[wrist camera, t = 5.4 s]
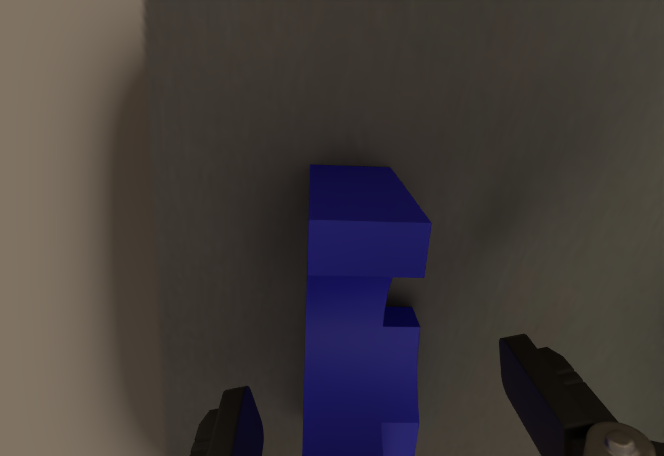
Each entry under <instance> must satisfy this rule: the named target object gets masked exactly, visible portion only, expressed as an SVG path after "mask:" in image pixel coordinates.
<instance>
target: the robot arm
mask: <svg viewBox="0 0 664 456" xmlns="http://www.w3.org/2000/svg"><path fill="white" fill-rule="evenodd" d="M499 349H500V364H501V377H502V383H503V386H504V389H505V392H506V395H507V397H508V399H509V400H510V402H511V404H512V406H513V407H514V409H515V411H516V412H517V414H518V416H519V418H520V419H521V421H522V423H523V425H524V426H525V428H526V430H527V432H528V433H529V435H530V437H531V438H532V440H533V442H534V444H535V445H536V447H537V449H538V451H539V452H540V454H541V456H664V443H660V442H655V441H650V440H649V439H648V438H647V437H646V436H645V435H644V434H643V433H641V432H640V431H638V430H637V429H635V428H633V427H631V426H629V425H626V424H623V423H619V422H618V421H617V420H616V419H615V418H614V416H613V415H612V414H611V413H610V412H609V410H608V409H607V408H606V407H605V406H604V404H603V403H602V402H601V401H600V400H599V399H598V397H597V396H596V395H595V394H594V393H593V391H592V390H591V389H590V388H589V387H588V385H587V384H586V383H585V382H583V380H582V378H581V377H580V376H579V375H578V374H577V372H575V371H574V369H573V368H572V366H571V365H570V364H569V363H568V362H567V361H566V359H565V358H564V357H563V356H561V355H560V354H558V353H556V352H555V351H553V350H551V349H550V348H548V347H544V348H539V349H537V348H536V346H535V345H534V344H533V343H532V341H531V340H530V339H529V337H528V336H527V335H526V334H520V335H514V336H509V337H504V338H500V340H499ZM263 442H264V434H263V426H262V421H261V418H260V415H259V412H258V410H257V407H256V404H255V401H254V398H253V395H252V392H251V389H250V388H249V386H244V387H239V388H234V389H228V390H225V391H224V392H223V395H222V399H221V402H220V406H219V409H214V410H210V411H209V412H208V413H207V415H206V416H205V417H204V419H203V420H202V421H201V423H200V424H199V427H198V430H197V433H196V437H195V442H194V443H193V446H192V450H191V455H190V456H262V450H263Z"/></svg>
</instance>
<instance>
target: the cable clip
mask: <svg viewBox="0 0 664 456" xmlns="http://www.w3.org/2000/svg"><path fill="white" fill-rule="evenodd" d="M431 225H432V223H431V222H430V220H429V219H428V218H427V216H426V215H425V213H424V212H423V211H422V209H421V208H420V207H419V205H418V204H417V203H416V201H415V200H414V199H413V197H412V196H411V195H410V193H409V192H408V191H407V189H406V188H405V186H404V185H403V184H402V182H401V181H400V180H399V178H398V177H397V176H396V174H395V173H394V172H393V170H392V169H391V168H390V167H366V166H337V165H310V187H309V224H308V262H307V299H306V337H305V374H304V412H303V452H302V456H414V455H415V448H416V441H417V435H418V428H419V412H418V392H417V364H418V345H419V335H420V325H419V323H418V320H417V318H416V315H415V313H414V310H413V308H412V307H385V305H386V300H387V295H388V291H389V287H390V283H391V280H392V278H393V277H408V278H424V276H425V269H426V261H427V254H428V247H429V239H430V232H431Z"/></svg>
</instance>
